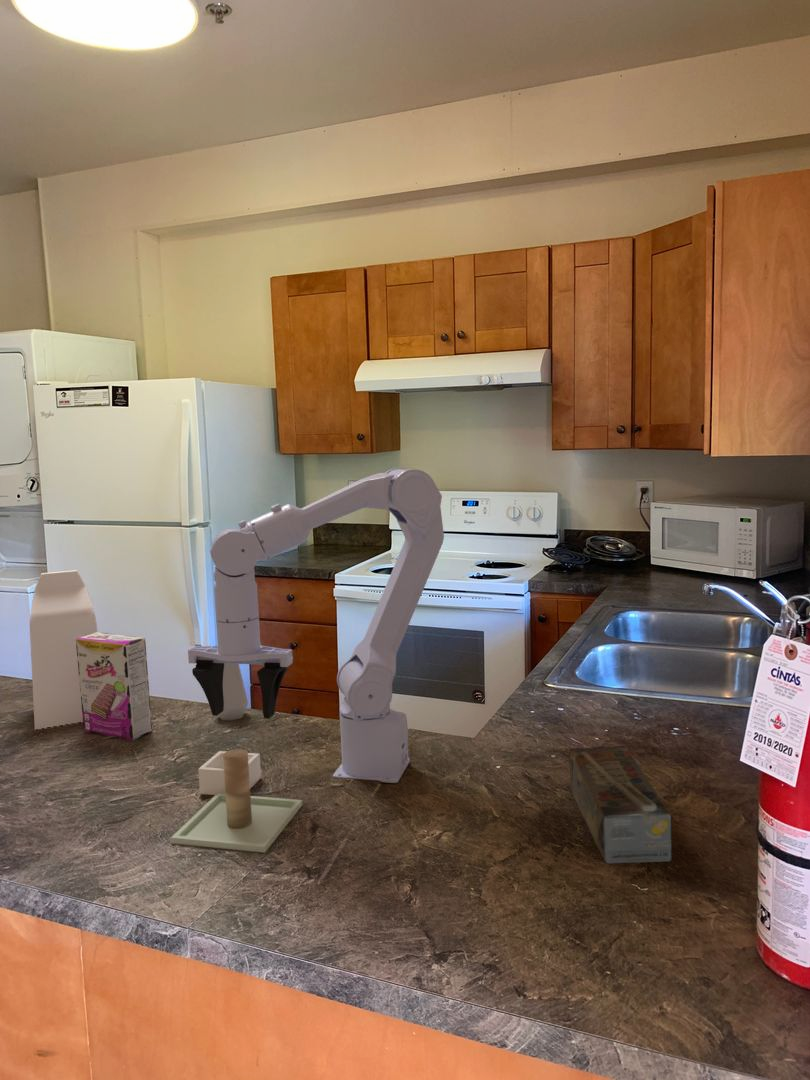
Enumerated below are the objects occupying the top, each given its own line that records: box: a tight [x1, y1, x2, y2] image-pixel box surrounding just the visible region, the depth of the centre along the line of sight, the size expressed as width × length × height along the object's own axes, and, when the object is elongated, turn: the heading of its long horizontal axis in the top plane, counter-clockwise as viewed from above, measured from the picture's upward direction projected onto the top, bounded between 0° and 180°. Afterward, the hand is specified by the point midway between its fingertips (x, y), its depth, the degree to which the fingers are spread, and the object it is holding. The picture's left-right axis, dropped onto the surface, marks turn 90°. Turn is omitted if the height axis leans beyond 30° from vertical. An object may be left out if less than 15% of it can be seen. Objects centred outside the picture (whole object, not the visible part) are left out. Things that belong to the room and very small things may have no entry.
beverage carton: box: [568, 745, 673, 864], centre depth 96 cm, size 8×19×7 cm, turn 0°
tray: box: [170, 793, 303, 854], centre depth 98 cm, size 12×12×1 cm
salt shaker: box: [218, 663, 248, 721], centre depth 138 cm, size 6×6×13 cm
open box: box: [197, 750, 262, 796], centre depth 109 cm, size 6×6×4 cm
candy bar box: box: [76, 632, 153, 741], centre depth 132 cm, size 11×5×16 cm, turn 65°
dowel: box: [223, 748, 252, 829], centre depth 98 cm, size 3×3×9 cm
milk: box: [29, 569, 98, 731], centre depth 141 cm, size 12×12×26 cm
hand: (243, 714), depth 109 cm, fingers open, 7 cm apart
